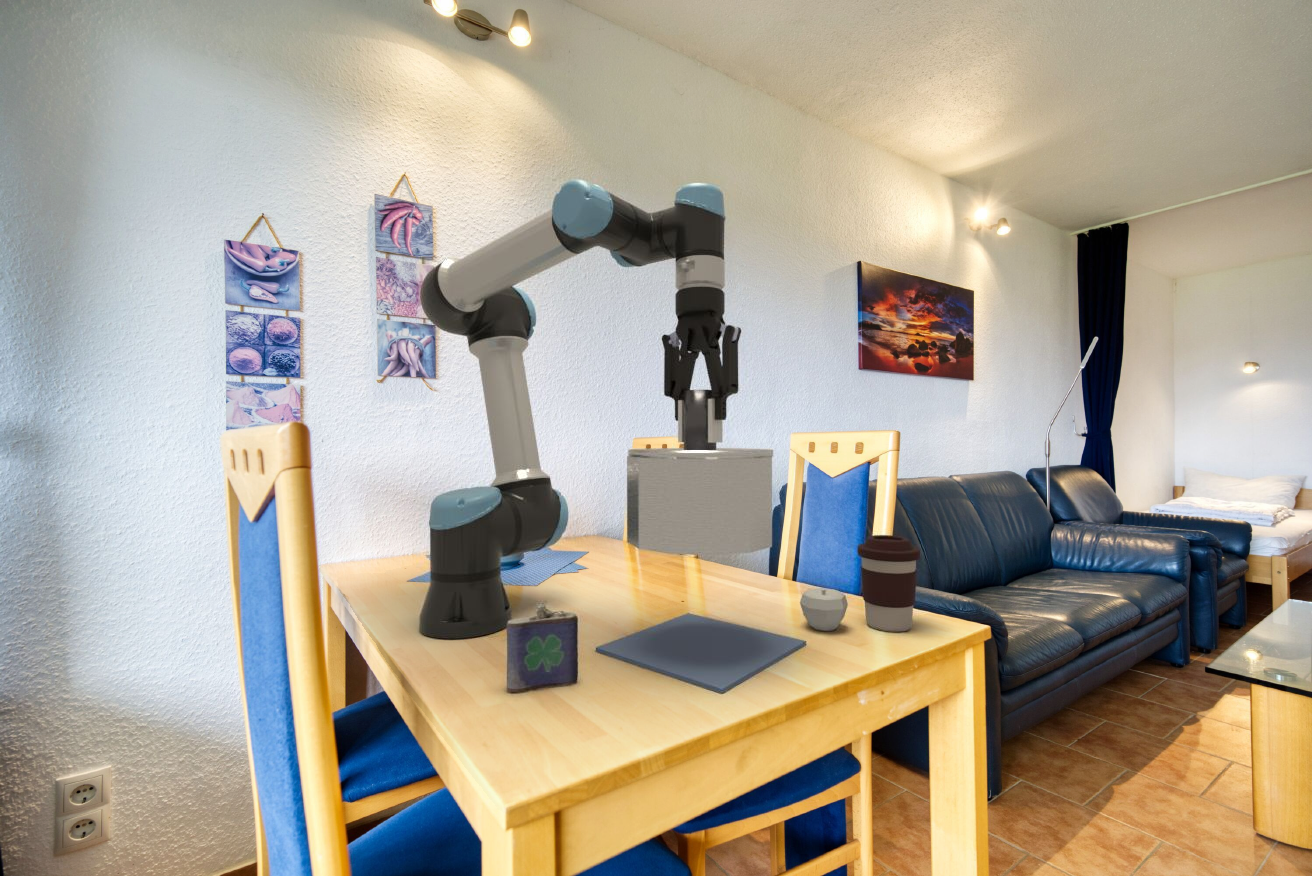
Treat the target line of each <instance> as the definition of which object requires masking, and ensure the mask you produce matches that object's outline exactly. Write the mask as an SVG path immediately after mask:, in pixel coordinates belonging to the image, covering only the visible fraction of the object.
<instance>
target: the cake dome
mask: <svg viewBox="0 0 1312 876" xmlns="http://www.w3.org/2000/svg"><path fill="white" fill-rule="evenodd" d="M711 394H712V390H711V389H690V390H685V391H684V442H683V447H679V448H678V447H677V448H676V447H675V448H674V447H671V448H670V447H669V448H668V447H667V448H666V447H665V448H661V447H660V448H659V447H657V448H631V449H627V457H626V543H628V544H630V545H632V546H633V547H635V548H636V549H638V550H644V551H649V552H656V553H662V554H668V555H685V556H687V555H689V556H690V555H691V556H692V555H693V556H711V557H712V556H723V555H724V556H725V555H735V554H736V555H738V554H740V555H741V554H750V553H751V554H752V553H755V552H758V551H762V550H766V549H768V548H772V547H773V457H774V449H769V448H737V447H736V448H730V447H729V448H727V447H726V448H723V447H722V448H721V447H720V448H719V447H718V448H717V442H716V443H708V399H714V398H712V397H710V395H711Z"/></svg>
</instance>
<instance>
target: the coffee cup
mask: <svg viewBox="0 0 1312 876" xmlns="http://www.w3.org/2000/svg"><path fill="white" fill-rule="evenodd" d="M857 555H858V556H859V557H860V558H861V566H860V577H861V589H862V599H863V601H864V611H865V613H864V614H865V622H866V624H867V625H868V626H869V627H871V629H872V628H873V629H876V630H879V631H884V632H888V633H891V632H892V633H901V632H906V631H909V630H911V628H912V627H913V617H914V616H913V614H914V613H913V612H914V606H915V604H916V603H915V602H916V592H917V591H916V588H917V578H918V576H917V575H918V571H917V568H916V567H917V561H918V560H920V559H921V550H920V548H919V547H918V546H914V545H913V544H912V541H911V540H910V539H909V538H908V537H904V536H898V535H889V534H874V535H869V536H867V538H866V540H865V542H864V543H860V544H858V545H857Z"/></svg>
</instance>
